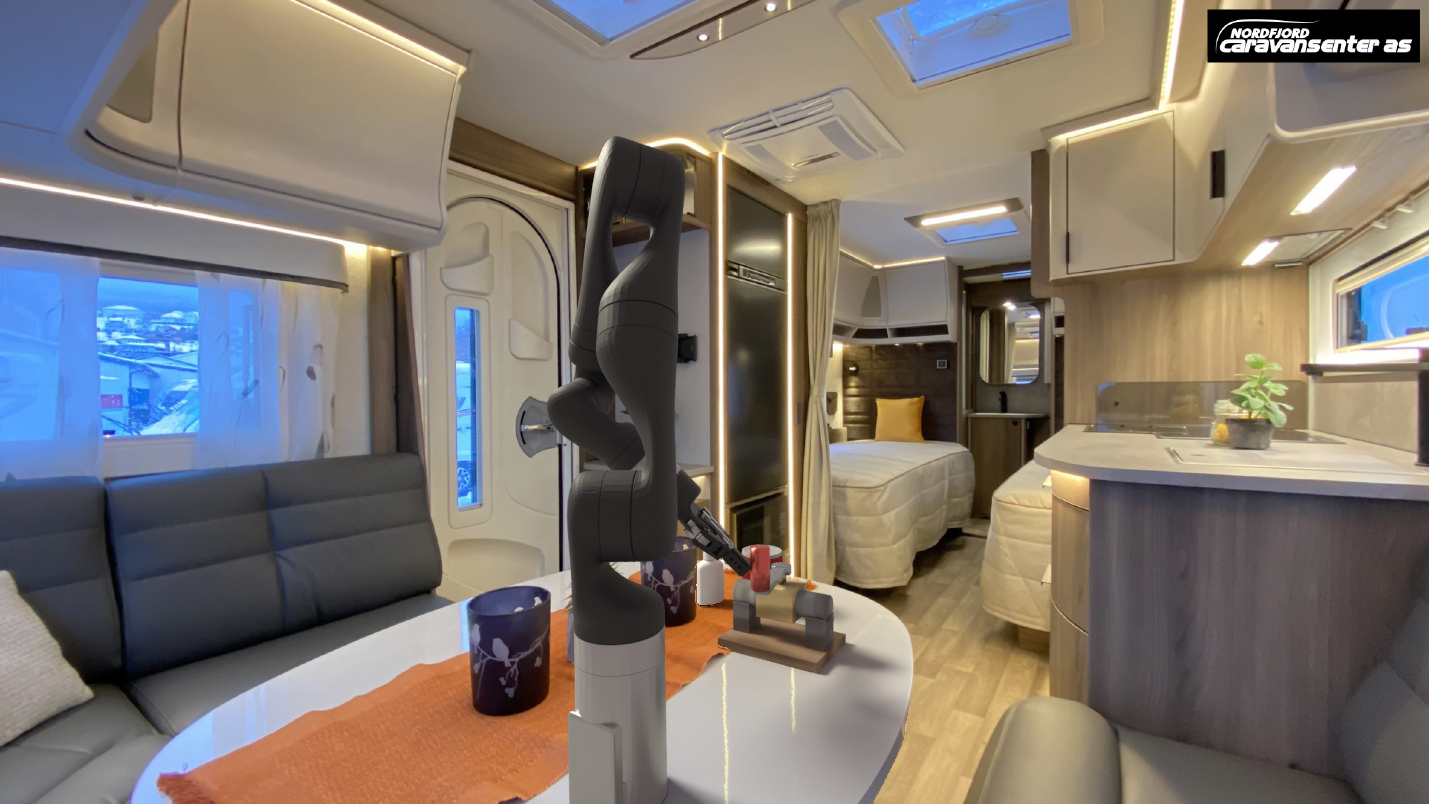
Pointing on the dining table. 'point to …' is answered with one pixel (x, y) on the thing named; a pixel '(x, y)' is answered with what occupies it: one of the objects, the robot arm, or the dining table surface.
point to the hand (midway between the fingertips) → (746, 570)
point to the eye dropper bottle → (710, 580)
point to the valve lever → (765, 570)
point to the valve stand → (783, 625)
